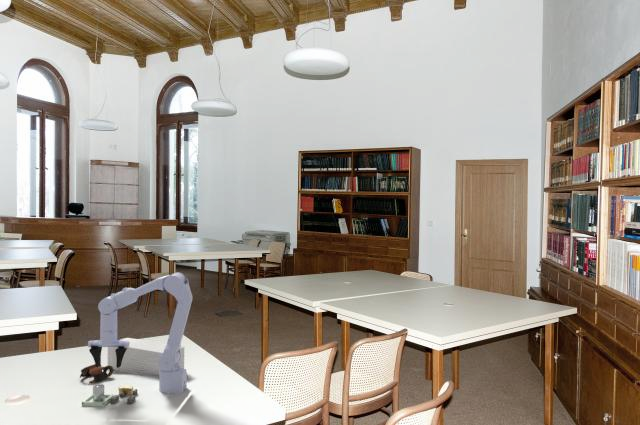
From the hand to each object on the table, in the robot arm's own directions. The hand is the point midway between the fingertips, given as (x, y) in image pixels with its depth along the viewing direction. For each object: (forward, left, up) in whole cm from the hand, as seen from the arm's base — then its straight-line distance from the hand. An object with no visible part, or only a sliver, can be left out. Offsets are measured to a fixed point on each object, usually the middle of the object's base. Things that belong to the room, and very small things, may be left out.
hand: (108, 366), depth 177 cm
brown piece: (+10, -11, -10) cm, 18 cm away
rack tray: (-2, +11, -9) cm, 14 cm away
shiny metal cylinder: (-2, +11, -8) cm, 14 cm away
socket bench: (-6, +6, -10) cm, 13 cm away
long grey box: (-4, -26, -10) cm, 28 cm away
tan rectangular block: (-8, +4, -8) cm, 13 cm away
